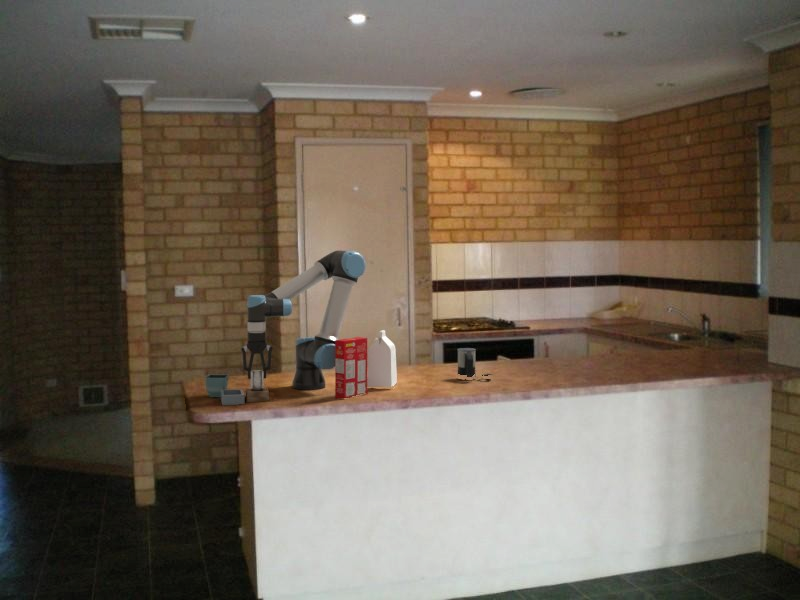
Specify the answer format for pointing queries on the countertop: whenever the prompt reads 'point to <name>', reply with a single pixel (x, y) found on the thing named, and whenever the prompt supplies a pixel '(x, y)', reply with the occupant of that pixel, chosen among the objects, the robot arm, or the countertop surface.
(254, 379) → the steel pin
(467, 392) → the countertop surface
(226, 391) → the tray
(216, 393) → the flower pot
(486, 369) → the countertop surface
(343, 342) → the food packaging
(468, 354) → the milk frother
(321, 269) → the robot arm
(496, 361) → the countertop surface
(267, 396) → the socket block
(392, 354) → the milk
